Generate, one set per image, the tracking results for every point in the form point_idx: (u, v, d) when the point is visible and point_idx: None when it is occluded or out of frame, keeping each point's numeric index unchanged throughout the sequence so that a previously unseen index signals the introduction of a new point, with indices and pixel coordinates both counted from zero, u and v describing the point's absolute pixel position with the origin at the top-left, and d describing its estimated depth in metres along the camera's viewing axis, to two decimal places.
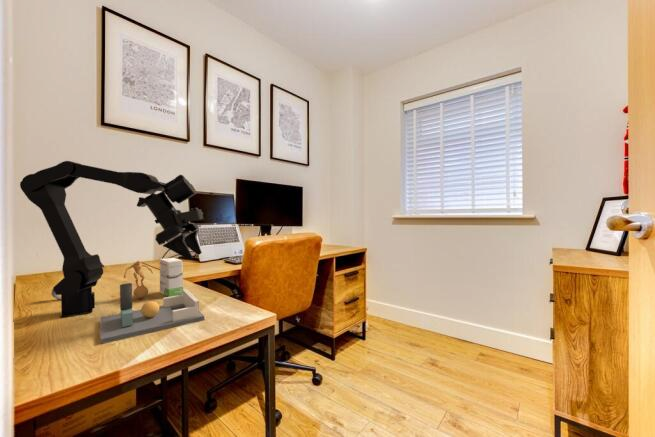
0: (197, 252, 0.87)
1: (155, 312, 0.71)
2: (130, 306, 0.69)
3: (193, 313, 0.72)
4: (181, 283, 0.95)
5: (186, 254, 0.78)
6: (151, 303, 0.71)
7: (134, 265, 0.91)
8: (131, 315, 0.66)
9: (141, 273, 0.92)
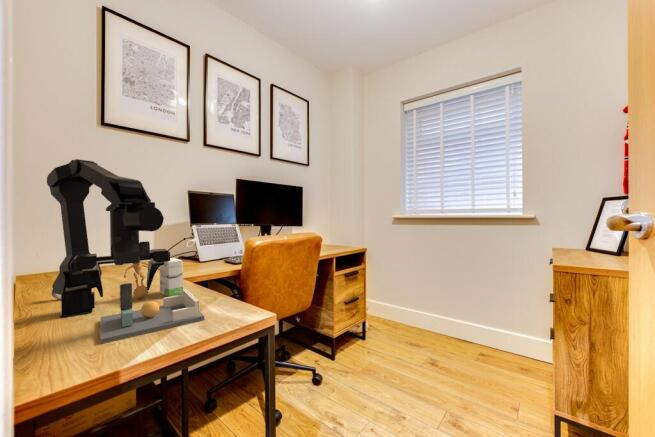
0: None
1: (155, 312, 0.71)
2: (130, 306, 0.69)
3: (193, 313, 0.72)
4: (181, 283, 0.95)
5: (97, 289, 0.65)
6: (151, 303, 0.71)
7: (134, 265, 0.91)
8: (131, 315, 0.66)
9: (141, 273, 0.92)
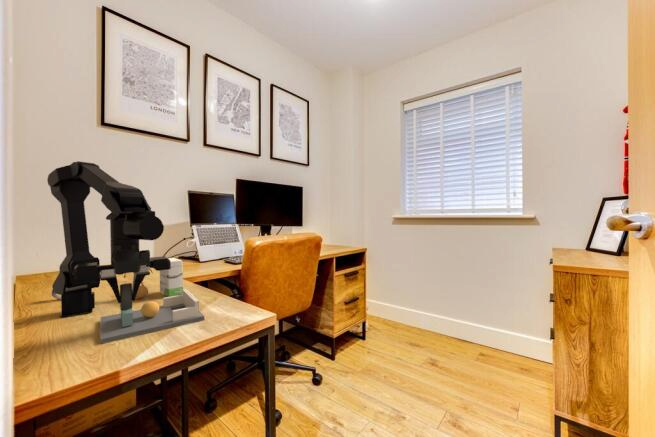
0: None
1: (155, 312, 0.71)
2: (130, 306, 0.69)
3: (193, 313, 0.72)
4: (181, 283, 0.95)
5: None
6: (151, 303, 0.71)
7: None
8: (131, 315, 0.66)
9: None
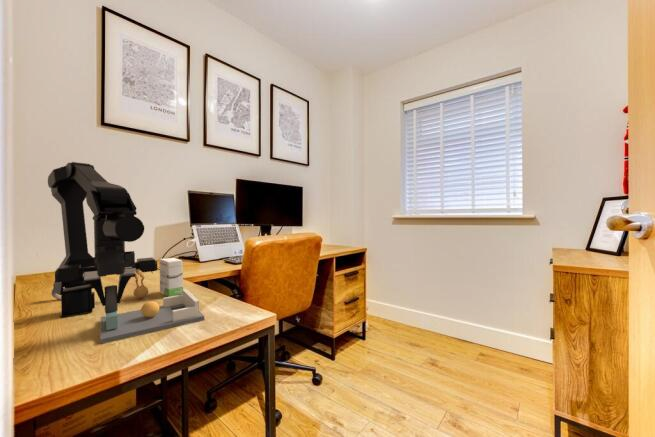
0: (117, 299, 0.68)
1: (155, 312, 0.71)
2: (115, 309, 0.67)
3: (193, 313, 0.72)
4: (181, 283, 0.95)
5: (99, 298, 0.66)
6: (151, 303, 0.71)
7: None
8: (115, 318, 0.64)
9: (141, 273, 0.92)
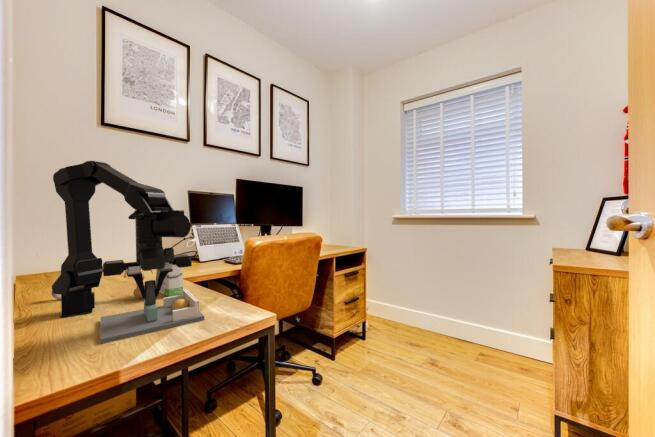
0: None
1: (178, 306, 0.75)
2: (154, 302, 0.72)
3: (193, 313, 0.72)
4: (181, 283, 0.95)
5: None
6: None
7: None
8: (156, 310, 0.69)
9: None
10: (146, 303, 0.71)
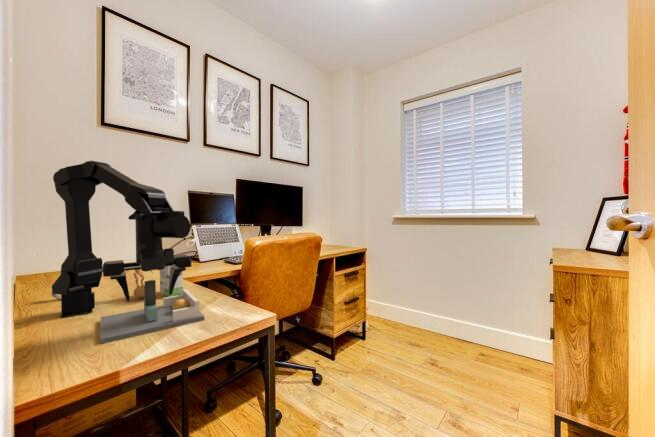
0: (169, 291, 0.75)
1: (178, 306, 0.75)
2: (154, 302, 0.72)
3: (193, 313, 0.72)
4: (181, 283, 0.95)
5: (124, 294, 0.69)
6: None
7: None
8: (156, 310, 0.69)
9: (141, 273, 0.92)
10: (146, 303, 0.71)
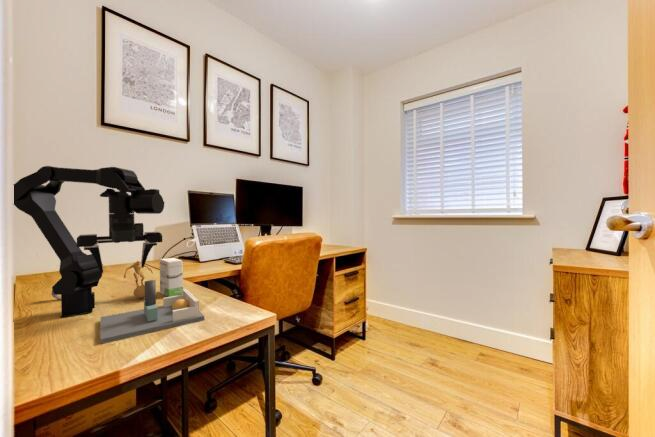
0: (141, 264, 0.81)
1: (178, 306, 0.75)
2: (154, 302, 0.72)
3: (193, 313, 0.72)
4: (181, 283, 0.95)
5: (98, 265, 0.75)
6: None
7: (134, 265, 0.91)
8: (156, 310, 0.69)
9: (141, 273, 0.92)
10: (146, 303, 0.71)
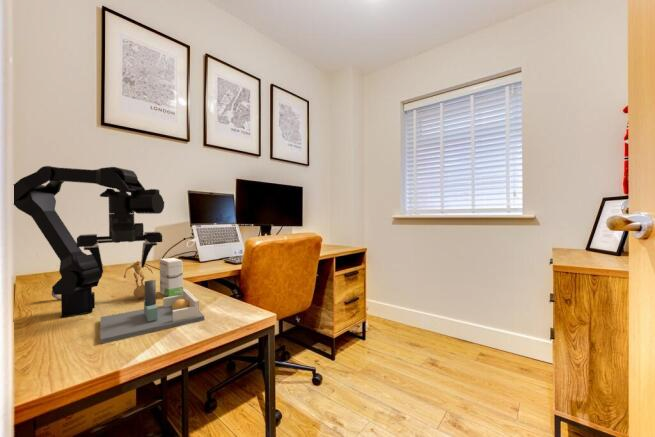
0: (141, 264, 0.81)
1: (178, 306, 0.75)
2: (154, 302, 0.72)
3: (193, 313, 0.72)
4: (181, 283, 0.95)
5: (98, 265, 0.75)
6: None
7: (134, 265, 0.91)
8: (156, 310, 0.69)
9: (141, 273, 0.92)
10: (146, 303, 0.71)
